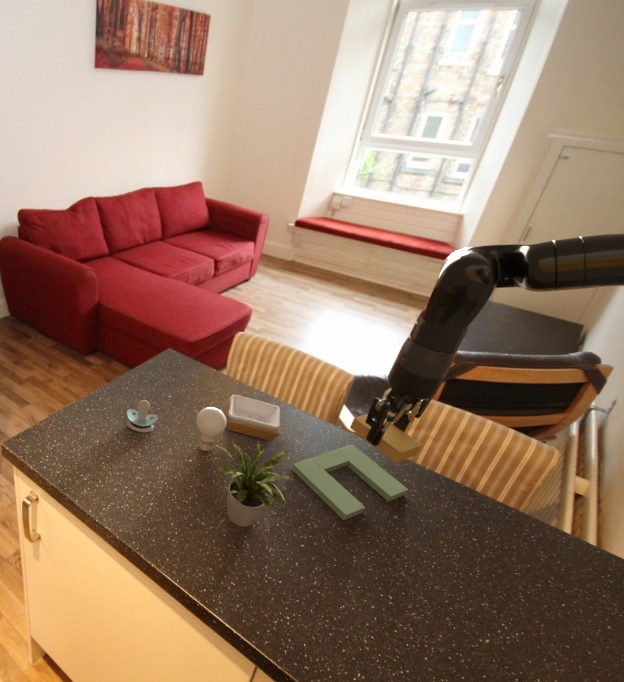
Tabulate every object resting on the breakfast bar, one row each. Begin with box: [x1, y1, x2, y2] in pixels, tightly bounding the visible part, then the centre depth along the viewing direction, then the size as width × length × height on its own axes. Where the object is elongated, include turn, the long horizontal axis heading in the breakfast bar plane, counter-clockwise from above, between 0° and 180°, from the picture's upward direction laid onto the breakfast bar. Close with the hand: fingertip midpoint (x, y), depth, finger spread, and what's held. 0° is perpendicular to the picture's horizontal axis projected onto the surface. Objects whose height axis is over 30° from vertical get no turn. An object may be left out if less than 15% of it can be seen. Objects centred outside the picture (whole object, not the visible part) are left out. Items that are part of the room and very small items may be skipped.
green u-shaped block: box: [290, 444, 409, 521], centre depth 93 cm, size 18×14×2 cm
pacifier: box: [126, 399, 159, 433], centre depth 103 cm, size 7×6×6 cm
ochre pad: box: [349, 413, 423, 464], centre depth 84 cm, size 6×10×2 cm, turn 24°
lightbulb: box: [195, 406, 227, 452], centre depth 96 cm, size 6×6×11 cm
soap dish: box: [224, 394, 281, 442], centre depth 106 cm, size 12×10×5 cm
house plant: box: [211, 440, 294, 528], centre depth 80 cm, size 14×14×16 cm
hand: (383, 438), depth 84 cm, fingers closed on ochre pad, 6 cm apart
